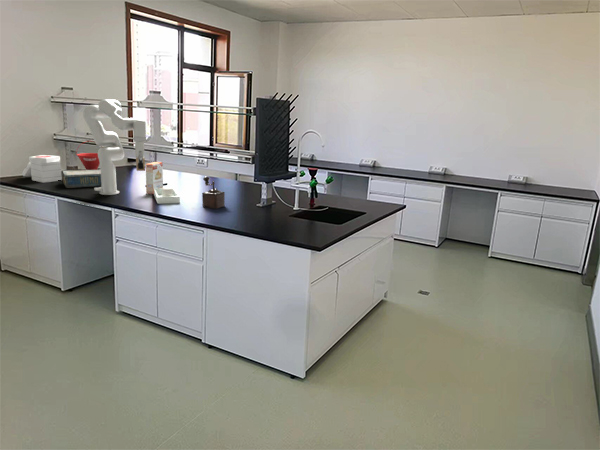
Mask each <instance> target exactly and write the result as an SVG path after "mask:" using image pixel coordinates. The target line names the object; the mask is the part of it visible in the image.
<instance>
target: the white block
mask: <svg viewBox="0 0 600 450" xmlns="http://www.w3.org/2000/svg"><path fill="white" fill-rule="evenodd" d="M172 188H173V187H163V189H162V197H173V189H172Z"/></svg>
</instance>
